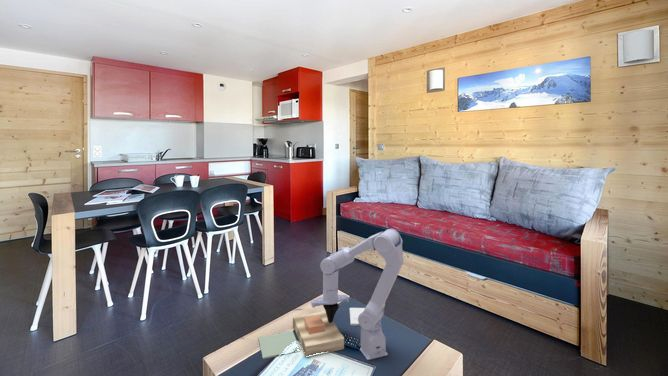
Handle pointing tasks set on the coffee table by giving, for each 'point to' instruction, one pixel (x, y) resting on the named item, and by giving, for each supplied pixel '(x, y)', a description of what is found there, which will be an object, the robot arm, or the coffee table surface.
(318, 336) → the wavy block
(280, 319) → the coffee table surface
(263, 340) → the mat
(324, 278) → the robot arm
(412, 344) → the coffee table surface
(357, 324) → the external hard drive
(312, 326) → the tile
